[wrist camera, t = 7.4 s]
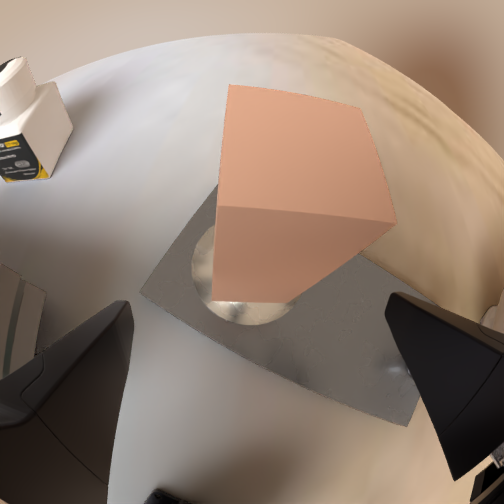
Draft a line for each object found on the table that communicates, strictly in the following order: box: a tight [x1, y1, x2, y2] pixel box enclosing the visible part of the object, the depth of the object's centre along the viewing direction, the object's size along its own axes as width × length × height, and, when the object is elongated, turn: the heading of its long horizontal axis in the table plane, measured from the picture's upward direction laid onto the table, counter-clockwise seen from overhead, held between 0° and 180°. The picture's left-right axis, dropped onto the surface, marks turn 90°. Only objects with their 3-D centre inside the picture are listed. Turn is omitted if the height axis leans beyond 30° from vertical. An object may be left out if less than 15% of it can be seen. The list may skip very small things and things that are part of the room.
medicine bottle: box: [0, 57, 73, 183], centre depth 15 cm, size 7×7×12 cm
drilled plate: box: [140, 185, 441, 427], centre depth 19 cm, size 11×23×1 cm, turn 61°
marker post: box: [211, 85, 397, 303], centre depth 13 cm, size 5×5×12 cm
